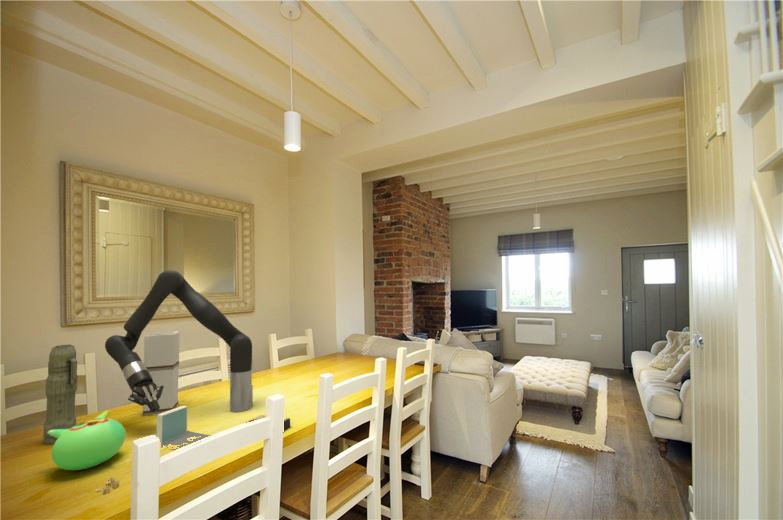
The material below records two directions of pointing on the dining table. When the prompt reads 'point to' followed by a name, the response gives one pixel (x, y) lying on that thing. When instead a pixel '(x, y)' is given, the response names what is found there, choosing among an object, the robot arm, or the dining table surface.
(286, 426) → the calculator
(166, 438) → the tile
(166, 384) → the grooved grey pillar
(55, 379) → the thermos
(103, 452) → the green eared figurine
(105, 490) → the dice set
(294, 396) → the dining table surface
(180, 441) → the tile mat
